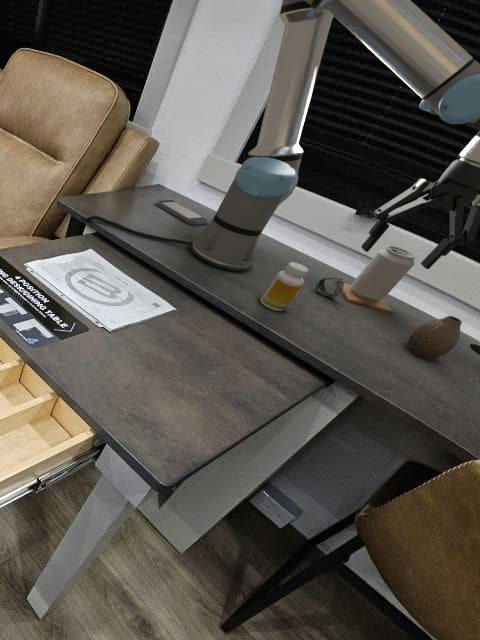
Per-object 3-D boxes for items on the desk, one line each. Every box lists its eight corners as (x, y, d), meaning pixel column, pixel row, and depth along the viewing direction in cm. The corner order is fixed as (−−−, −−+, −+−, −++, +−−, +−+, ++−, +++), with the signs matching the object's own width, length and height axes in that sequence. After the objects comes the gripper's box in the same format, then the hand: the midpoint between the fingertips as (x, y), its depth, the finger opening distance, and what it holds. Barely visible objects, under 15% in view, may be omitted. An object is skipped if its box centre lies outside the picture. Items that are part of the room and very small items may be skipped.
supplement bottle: (287, 314, 101) (316, 275, 94) (263, 308, 101) (290, 269, 94) (279, 301, 105) (307, 263, 98) (256, 296, 105) (282, 258, 98)
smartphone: (193, 221, 133) (156, 200, 142) (191, 224, 133) (155, 204, 142) (209, 219, 136) (172, 199, 145) (207, 223, 137) (171, 203, 146)
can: (351, 284, 118) (386, 240, 110) (383, 297, 114) (422, 254, 106) (345, 291, 113) (381, 247, 105) (378, 306, 110) (418, 261, 102)
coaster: (347, 300, 111) (349, 298, 111) (336, 282, 118) (337, 280, 118) (390, 312, 110) (392, 310, 109) (376, 293, 117) (378, 292, 117)
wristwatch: (323, 298, 113) (320, 278, 113) (346, 294, 108) (343, 274, 108) (315, 300, 112) (312, 280, 112) (337, 297, 108) (334, 276, 107)
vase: (438, 354, 98) (475, 321, 92) (438, 367, 93) (476, 333, 88) (402, 338, 100) (435, 305, 95) (400, 350, 96) (434, 316, 90)
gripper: (421, 152, 91) (344, 248, 106) (555, 186, 88) (457, 280, 103) (406, 143, 97) (335, 236, 111) (532, 175, 94) (442, 266, 108)
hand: (394, 257), depth 107 cm, fingers open, 13 cm apart
